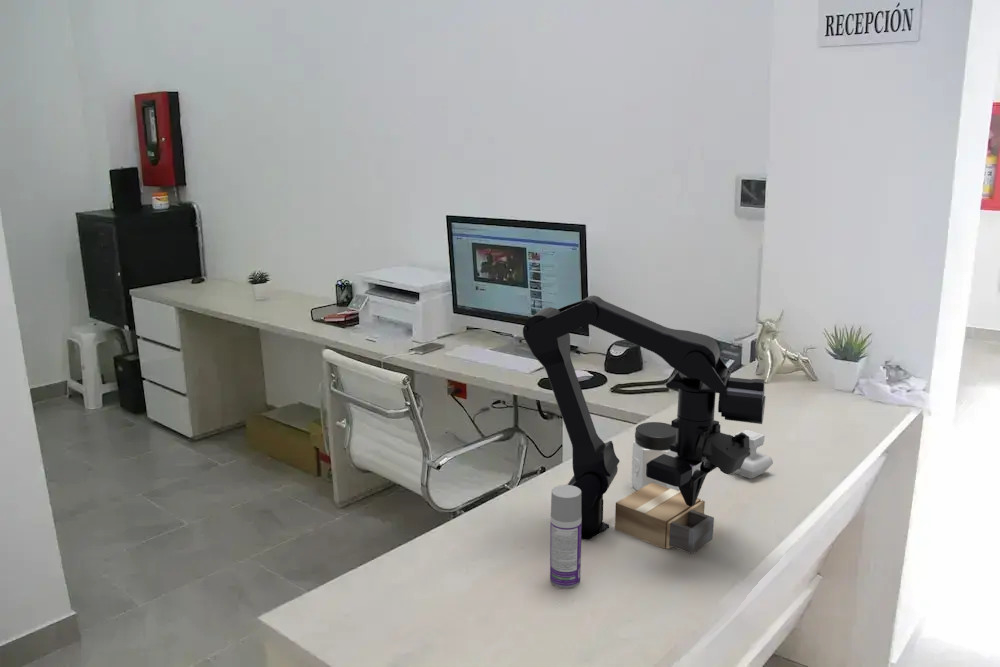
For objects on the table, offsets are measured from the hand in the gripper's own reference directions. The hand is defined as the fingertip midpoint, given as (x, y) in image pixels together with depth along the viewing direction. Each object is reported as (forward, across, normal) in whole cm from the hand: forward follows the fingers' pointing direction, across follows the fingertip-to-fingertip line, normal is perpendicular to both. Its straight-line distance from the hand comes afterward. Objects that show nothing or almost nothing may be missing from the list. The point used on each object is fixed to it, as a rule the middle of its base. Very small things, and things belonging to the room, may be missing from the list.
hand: (690, 505), depth 136 cm
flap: (+7, +2, 0) cm, 8 cm away
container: (+8, -22, +8) cm, 25 cm away
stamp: (+8, +33, +6) cm, 35 cm away
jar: (+8, +15, +16) cm, 24 cm away
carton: (+8, +2, +7) cm, 11 cm away
